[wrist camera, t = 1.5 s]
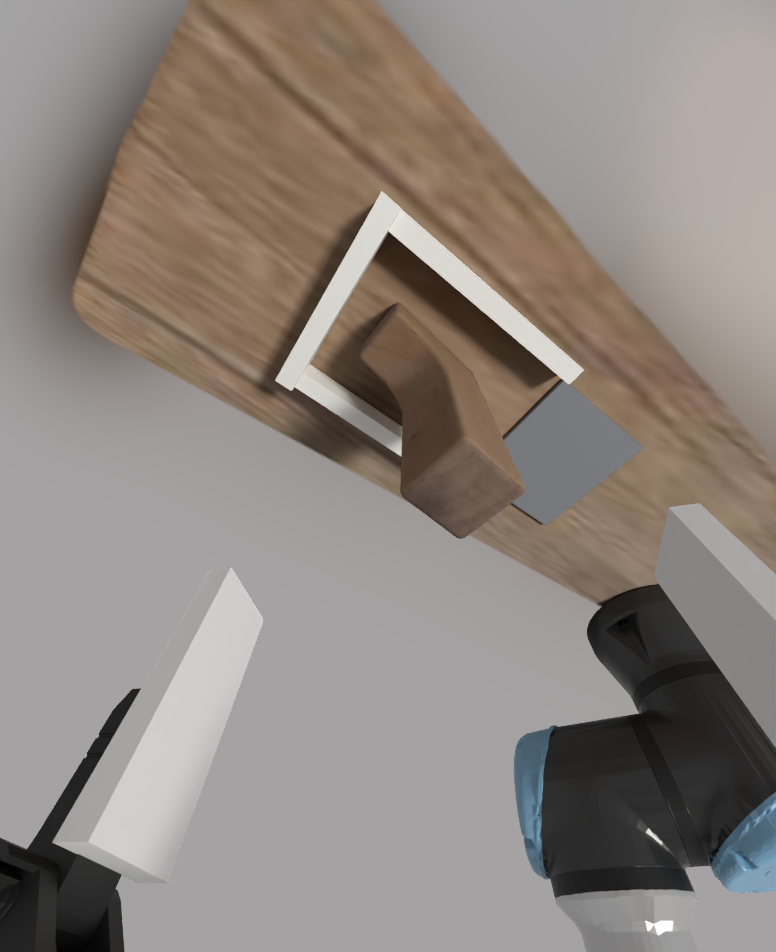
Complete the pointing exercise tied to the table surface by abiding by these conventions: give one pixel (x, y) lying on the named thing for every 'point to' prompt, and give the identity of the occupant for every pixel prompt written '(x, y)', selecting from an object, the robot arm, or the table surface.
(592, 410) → the pad
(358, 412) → the white u-shaped bracket
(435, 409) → the wooden block
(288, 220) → the table surface
